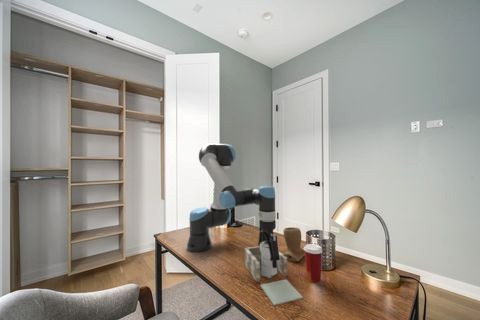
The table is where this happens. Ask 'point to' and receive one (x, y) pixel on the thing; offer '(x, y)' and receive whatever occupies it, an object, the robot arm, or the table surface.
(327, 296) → the table surface
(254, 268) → the cubby
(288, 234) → the brown boot
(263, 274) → the syrup box
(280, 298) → the mat
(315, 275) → the paper cup
